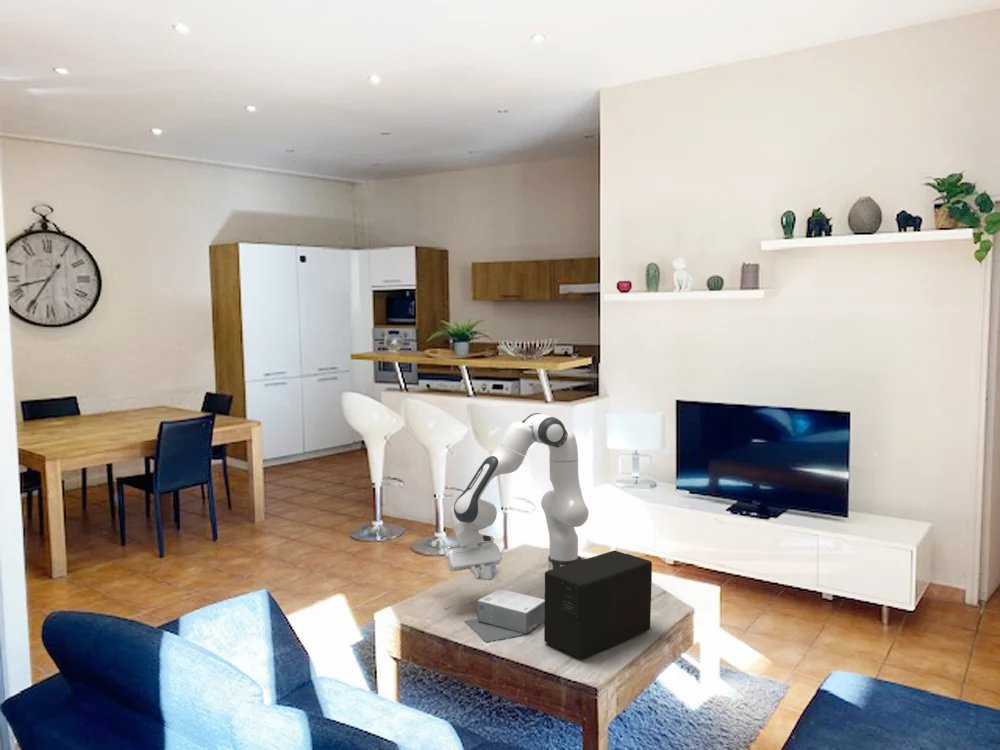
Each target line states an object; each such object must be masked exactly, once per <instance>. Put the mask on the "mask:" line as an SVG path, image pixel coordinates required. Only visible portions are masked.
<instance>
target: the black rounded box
mask: <svg viewBox="0 0 1000 750" xmlns="http://www.w3.org/2000/svg"><path fill="white" fill-rule="evenodd" d="M652 573H653V563H652V561H651V560H649V559H645V558H643V557H639V556H635V555H633V554H630V553H624V552H621V551H618V550H611V551H608V552H605V553H602V554H598V555H595V556H592V557H588V558H585V559H584V560H581V561H578V562H575V563H571V564H568V565H565V566H562V567H558V568H555V569H552V570H548V569H547V570H546V571H545V572H544V599H545V621H544V622H543V624H544V630H543V631H544V633H543V634H544V637H543V641H544V643H547V644H549V645H552V646H553V647H555V648H557V649H560V650H562V651H564V652H565V653H568V654H571V655H573V656H575V657H576V658H579V659H581V660H582V659H584V658H586V657H589V656H592V655H593V654H595V653H598V652H600V651H603V650H605V649H608V648H609V647H612V646H614V645H617V644H619V643H621V642H624V641H626V640H629V639H631V638H633V637H635V636H638V635H641V634H643V633H645V632H647V631H649V630H650V629H651V616H652V615H651V611H652V609H651V607H652V606H651V604H652V585H653V584H652V582H653V581H652V580H653V579H652V578H653V576H652V575H653V574H652Z"/></svg>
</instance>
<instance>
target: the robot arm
mask: <svg viewBox="0 0 1000 750" xmlns="http://www.w3.org/2000/svg"><path fill="white" fill-rule="evenodd" d="M534 443H538V444H544V445H545V446H547V447H548V450H549V481H550V483H551V485H552V487H553V490H547V492H545V493H544V495H543V496H542V498H541V501H540V504H541V508H542V510H543V512H544V516H545V520H546V525H547V529H548V537H549V555H548V560H547V562H548V563H547V564H548V566H547V567H548V569H547V571H548V570H552V569H555V568H558V567H562V566H565V565H568V564H571V563H575V562H578V561H581V560H584V559H586V558H585V557H581V556H580V555H579V537H578V534H577V532H576V529H575V528H579V527H581V526H583V525H584V524H585V523H586V522H587V520H588V518H589V509H588V506H587V505H586V503H585V500H584V498H583V494H582V489H581V485H580V478H579V451H578V444H577V443H578V442H577V438H576V435H575V434H574V433H573V432H572V431H570V430H567V429H566V427H565V425H564V423H563V422H562V421H561V420H560V419H558V418H557V417H555V416H552V415H550V414H544V413H540V412H534V413H531V414H529V415H527V416H526V418H524V419H523V420H522V421H514V422H511V423H510V425H509V426H508V427H507V429H506V430H505V432H504V433H503V435H502V437H501V438H500V440H499V442H498V444H497V446H496V448H495V450H494V451H493V452H492V453H491V454H490V455H489V456H488V457H486V458H485V459H484V460H483V462H482V463H481V465H480V466H479V467H478V469H477V471H476V472H475V474H474V475H473V477H472V479H471V480H470V482H469V483H468V485H467V486H466V487H465V489H464V491H463V492H462V493H461V494H460V495H459V496H458V497H457V499H456V501H455V502H454V505H452V506H451V508H450V509H449V520H450V525H451V526H452V527H451V528H452V531H453V533H454V534H455V541H456V544H457V545H453V546H447V547H446V548H445V549H444V554H445V557H446V559H447V566H448V570H449V571H450V572H451V573H453V572H458V571H459V572H460V571H465V570H469V571H470V573H471V574H473V576H474V578H475V580H481V579H480V578H484V573H483V572H484V568H485V567H486V566H492V565H496V566H497V565H500V564H501V561H502V559H503V556H502V553H501V551H500V548H499V547H498V545H497V544H496V543H495V542H494V541H495V539H494V537H493V536H492V535H487V534H482V533H480V532H479V531H480V530H484V529H486V528H488V527H490V526H492V525H493V524H494V523H495V521H496V519H497V515H498V514H497V513H498V512H497V507H496V506H495V505H494V504H493V503H492V502H489V501H487V500H484V499H482V498H481V497H482V495H483V493H484V492H485V491H486V489H487V487H488V486H489V484H490V482H491V481H492V480H493V479H494V478H495V477H498V476H500V475H507V474H511V473H514V472H516V471H517V470H519V468H520V467H521V466H522V463H523V461H524V459H525V457H526V456H527V453H528V451H529V449H530V448H531V446H532V445H533V444H534ZM476 568H479V569H480V570H481V572H478V573H477V571H476Z"/></svg>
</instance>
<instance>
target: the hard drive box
mask: <svg viewBox="0 0 1000 750" xmlns="http://www.w3.org/2000/svg"><path fill="white" fill-rule="evenodd" d="M476 619H477V621H480V622H484V623H488V624H492V625H495V626H499V627H503V628H507V629H510V630H514V631H518V632H521V633H523V634H524V635H526V634H528V633H530V632H531V631H533V630H534V629H535V628H537V627H538V626H539V625H541V624H542V623H544V622H545V598H540V597H535V596H531V595H527V594H524V593H519V592H515V591H510V590H505V589H502V588H498V589H497V590H495V591H493V592H491V593H489V594H487V595H486V596H483V597H481V598H480V599H478V600H477V617H476Z"/></svg>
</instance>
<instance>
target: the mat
mask: <svg viewBox="0 0 1000 750" xmlns="http://www.w3.org/2000/svg"><path fill="white" fill-rule="evenodd" d="M465 622H466V623H467V624H468V625H469V626H470V627H471V628H472V629H473V630H474V631H475V632H476V633H477V634H478V635H479V636H480V637H481V638H482V639H483V640H484V641H485V642H488V643H492V642H491V641H493V642H497V641H496V640H499V641H502V640H501V639H504V640H507V639H506V638H509V639H513V637H514V638H518V637H519V636H520V637H524V635H525V633H521V632H518V631H514V630H510V629H507V628H503V627H499V626H495V625H492V624H488V623H484V622H480V621H477V618H472V619H466V620H464V623H465ZM466 623H465V624H466ZM467 624H466V625H467ZM468 625H467V626H468ZM469 626H468V627H469ZM470 627H469V628H470ZM471 628H470V629H471ZM472 629H471V630H472ZM473 630H472V631H473ZM474 631H473V632H474ZM475 632H474V633H475ZM476 633H475V634H476ZM477 634H476V635H477ZM478 635H477V636H478ZM480 637H479V638H480ZM520 637H519V638H520ZM481 638H480V639H481ZM482 639H481V640H482ZM483 640H482V641H483ZM484 641H483V642H484ZM485 642H484V643H485Z"/></svg>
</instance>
